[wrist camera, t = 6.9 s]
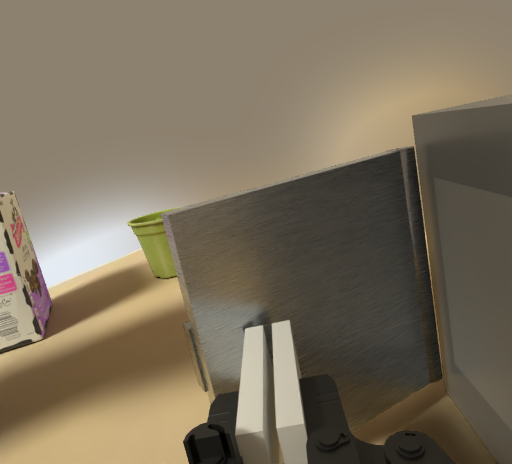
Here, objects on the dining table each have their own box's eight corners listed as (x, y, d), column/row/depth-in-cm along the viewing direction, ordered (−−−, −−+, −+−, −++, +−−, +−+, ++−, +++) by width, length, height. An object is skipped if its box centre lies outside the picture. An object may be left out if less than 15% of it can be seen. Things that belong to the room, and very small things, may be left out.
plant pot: (149, 269, 67) (134, 216, 65) (207, 256, 67) (195, 202, 65) (137, 289, 58) (120, 228, 56) (205, 274, 58) (190, 212, 56)
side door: (419, 362, 26) (390, 148, 23) (447, 375, 24) (420, 145, 21) (223, 476, 20) (153, 212, 17) (241, 504, 18) (166, 216, 16)
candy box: (45, 340, 47) (-6, 193, 43) (-15, 359, 45) (-74, 208, 41) (54, 304, 59) (15, 188, 56) (7, 318, 57) (-36, 199, 54)
